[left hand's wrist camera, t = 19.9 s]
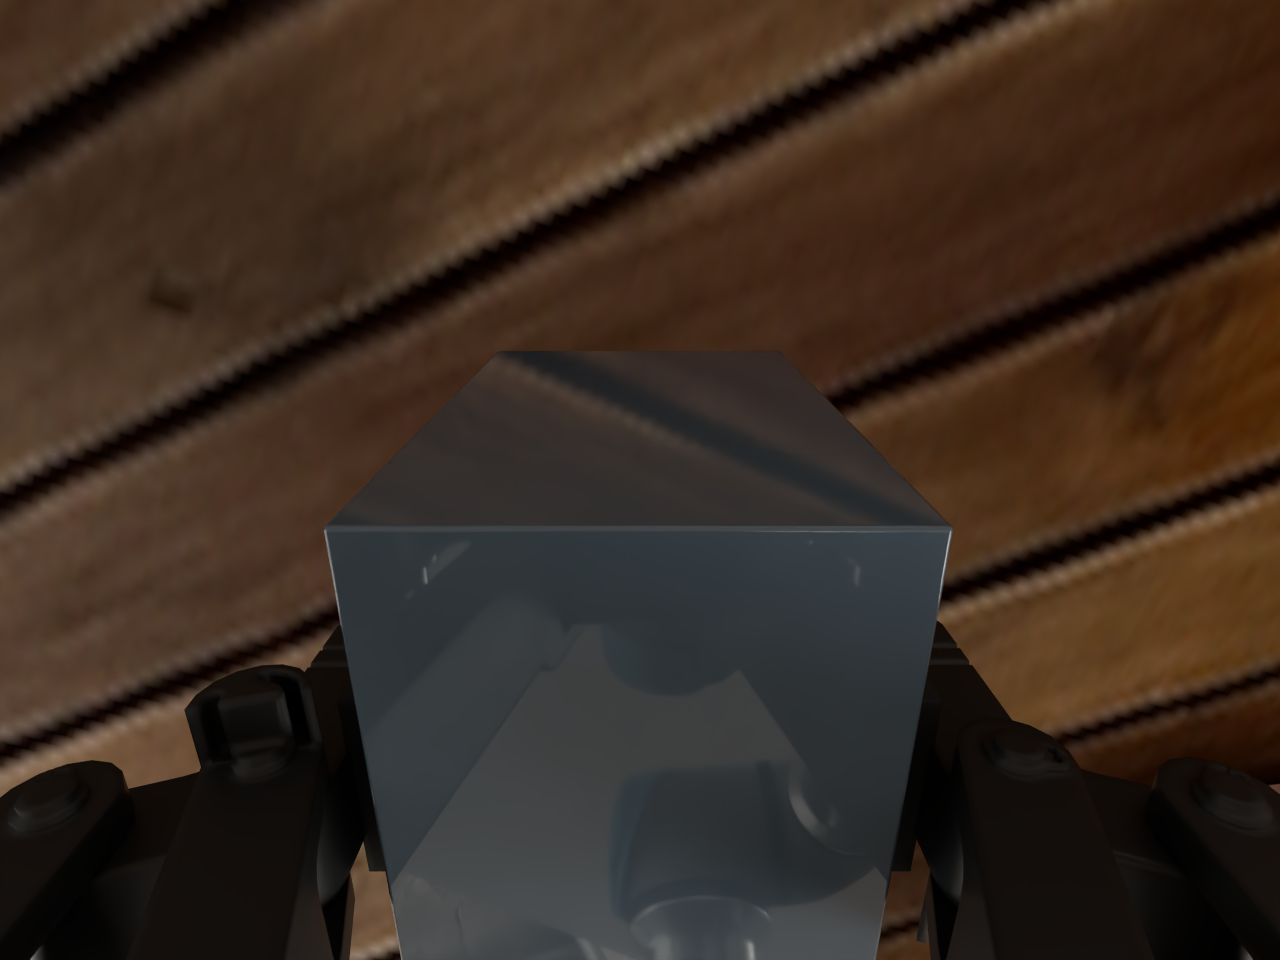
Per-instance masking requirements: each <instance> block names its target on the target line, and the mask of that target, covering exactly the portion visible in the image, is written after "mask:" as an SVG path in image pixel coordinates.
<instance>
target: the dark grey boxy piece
mask: <svg viewBox="0 0 1280 960" xmlns="http://www.w3.org/2000/svg"><path fill="white" fill-rule="evenodd" d="M952 533H953V529H952V526H951V525H950V524H949V523H948V522H947V521H946V520H945V519H944V518H943V517H942V516H941V515H940V514H939V513H938V512H937V511H936V510H935V509H934V508H933V507H932V506H931V505H930V504H929V503H928V502H927V501H926V500H925V499H924V497H923V496H922V495H921V494H920V493H919V492H918V491H917V490H916V489H915V488H914V487H913V486H912V485H911V484H910V483H909V482H908V481H907V480H906V479H905V478H904V477H903V476H902V475H901V474H900V473H899V472H898V471H897V470H896V469H895V468H894V467H893V466H892V465H891V464H890V463H889V462H888V461H887V460H886V459H885V458H884V457H883V456H882V455H881V454H880V453H879V452H878V451H877V450H876V449H875V448H874V447H873V446H872V445H871V443H870V442H869V441H868V440H867V439H866V438H865V437H864V436H863V435H862V434H861V433H860V432H859V431H858V430H857V429H856V428H855V427H854V426H853V425H852V424H851V423H850V422H849V421H848V420H847V419H846V418H845V417H844V416H843V415H842V414H841V413H840V412H839V411H838V410H837V409H836V408H835V407H834V406H833V405H832V404H831V403H830V402H829V401H828V400H827V399H826V398H825V397H824V396H823V395H822V394H821V393H820V392H819V390H818V389H817V388H816V387H815V386H814V385H813V384H812V383H811V382H810V381H809V380H808V379H807V378H806V377H805V376H804V375H803V374H802V373H801V372H800V371H799V370H798V369H797V368H796V367H795V366H794V365H793V364H792V363H791V362H790V361H789V360H788V359H787V358H786V357H785V356H784V355H783V354H782V353H781V352H780V351H499V352H497V353H496V354H495V355H494V356H493V357H492V358H491V359H490V360H489V361H488V362H487V363H486V364H485V365H484V366H483V367H482V368H481V369H480V370H479V371H478V372H477V373H476V374H475V375H474V376H473V377H472V378H471V379H470V380H469V381H468V382H467V383H466V384H465V385H464V386H463V387H462V388H461V389H460V390H459V391H458V392H457V393H456V394H455V395H454V396H453V398H452V399H451V400H450V401H449V402H448V403H447V404H446V405H445V406H444V407H443V408H442V409H441V410H440V411H439V412H438V413H437V414H436V415H435V416H434V417H433V418H432V419H431V420H430V421H429V422H428V423H427V424H426V425H425V426H424V427H423V428H422V429H421V430H420V431H419V432H418V433H417V434H416V435H415V436H414V437H413V438H412V439H411V440H410V441H409V442H408V443H407V444H406V445H405V446H404V447H403V448H402V449H401V450H400V451H399V452H398V453H397V454H396V455H395V456H394V457H393V458H392V459H391V460H390V461H389V462H388V463H387V464H386V465H385V466H384V467H383V468H382V469H381V470H380V471H379V472H378V473H377V474H376V475H375V476H374V477H373V478H372V479H371V480H370V481H369V482H368V483H367V484H366V485H365V486H364V487H363V488H362V489H361V490H360V491H359V492H358V493H357V494H356V495H355V496H354V497H353V498H352V499H351V500H350V501H349V502H348V503H347V504H346V505H345V506H344V507H343V508H342V509H341V510H340V511H339V512H338V513H337V514H336V515H335V516H334V517H333V518H332V519H331V520H330V521H329V522H328V523H327V524H326V525H325V528H324V534H325V540H326V546H327V551H328V557H329V562H330V568H331V573H332V579H333V584H334V590H335V595H336V601H337V606H338V612H339V617H340V623H341V628H342V634H343V639H344V645H345V650H346V656H347V661H348V667H349V672H350V678H351V684H352V689H353V695H354V700H355V706H356V711H357V717H358V722H359V728H360V733H361V739H362V744H363V750H364V755H365V761H366V766H367V772H368V777H369V783H370V788H371V794H372V799H373V805H374V811H375V816H376V822H377V827H378V833H379V838H380V844H381V849H382V855H383V860H384V866H385V871H386V877H387V882H388V888H389V893H390V899H391V904H392V910H393V915H394V921H395V926H396V932H397V937H398V943H399V949H400V954H401V960H876V955H877V949H878V944H879V938H880V932H881V927H882V921H883V916H884V910H885V905H886V899H887V894H888V888H889V883H890V877H891V871H892V866H893V860H894V855H895V849H896V844H897V838H898V833H899V827H900V821H901V816H902V810H903V805H904V799H905V794H906V788H907V783H908V777H909V772H910V766H911V760H912V755H913V749H914V744H915V738H916V733H917V727H918V722H919V716H920V710H921V705H922V699H923V694H924V688H925V683H926V677H927V672H928V666H929V661H930V655H931V649H932V644H933V638H934V633H935V627H936V622H937V616H938V611H939V605H940V599H941V594H942V588H943V583H944V577H945V572H946V566H947V561H948V555H949V550H950V544H951V538H952Z"/></svg>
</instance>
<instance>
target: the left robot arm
mask: <svg viewBox="0 0 1280 960" xmlns="http://www.w3.org/2000/svg"><path fill="white" fill-rule="evenodd" d="M185 714H186V717H187V720H188V724H189V727H190V731H191V734H192V738H193V741H194V744H195V748H196V751H197V755H198V758H199V762H200V765H201V769H200V771H199V772H197V773H193V774H190V775H187V776H183V777H179V778H175V779H170V780H166V781H161V782H157V783H152V784H148V785H144V786H139V787H135V788H130V789H128V787H127V784H126V781H125V778H124V775H123V772H122V771H121V770H120V769H119V768H118V767H116V766H115V765H114V764H112V763H110V762H102V761H94V760H91V761H84V762H78V763H72V764H66V765H63V766H61V767H57V768H55V769H52V770H48V771H46V772H43V773H40V774H38V775H36V776H34V777H33V778H31V779H29V780H27V781H25V782H23V783H21V784H20V785H18V786H16V787H14V788H12V789H11V790H9V791H8V792H7V793H6V794H4V795H3V796H2V797H0V960H349V957H350V946H351V935H352V925H353V914H354V903H355V896H354V890H353V884H352V879H351V874H350V870H351V868H352V866H353V863H354V861H355V859H356V857H357V854H358V852H359V850H360V847H361V845H362V843H363V841H364V846H365V851H366V857H367V862H368V867H369V871H385V866H384V860H383V855H382V849H381V844H380V838H379V833H378V827H377V822H376V816H375V811H374V805H373V799H372V794H371V788H370V783H369V777H368V772H367V766H366V761H365V755H364V750H363V744H362V739H361V733H360V728H359V722H358V717H357V711H356V706H355V700H354V695H353V689H352V684H351V678H350V672H349V667H348V661H347V656H346V650H345V645H344V639H343V634H342V628H341V624H340V625H339V626H338V627H337V628H336V629H335V631H334V632H333V634H332V635H331V636H330V638H329V639H328V640H327V642H326V643H325V645H324V646H323V651H319V653H318V654H317V656H316V657H315V658H314V660H313V661H312V663H311V667H310V668H307V669H306V671H305V672H304V671H302V670H301V669H300V668H296V667H292V666H287V665H283V664H281V665H262V666H257V667H253V668H249V669H245V670H241V671H237V672H235V673H233V674H231V675H228V676H226V677H224V678H222V679H220V680H217V681H215V682H213V683H212V684H211V685H209V686H208V687H207V688H205V689H204V690H202V691H201V692H200V693H198V694H197V695H196V696H195V697H194V698H193V699H192V701H191V702H190V703H189V705H188V706H187V707H186V709H185ZM916 839H917V841H918V843H919V845H920V847H921V850H922V852H923V854H924V856H925V859H926V861H927V863H928V866H929V868H930V874H929V879H928V884H927V888H926V893H925V898H924V903H923V908H922V913H921V917H920V922H919V928H918V934H917V940H916V941H920V942H924V943H926V939H927V935H928V933H929V944H930V955H931V960H1280V794H1279V793H1278V792H1277V791H1275V790H1274V789H1273V788H1271V787H1270V786H1269V785H1267V784H1265V783H1263V782H1261V781H1259V780H1258V779H1256V778H1254V777H1252V776H1250V775H1248V774H1246V773H1244V772H1243V771H1240V770H1238V769H1235V768H1232V767H1230V766H1226V765H1224V764H1220V763H1217V762H1214V761H1209V760H1203V759H1196V758H1190V757H1186V758H1178V759H1170V760H1168V761H1167V762H1165V763H1164V764H1163V765H1162V766H1160V767H1159V768H1158V770H1157V773H1156V776H1155V779H1154V782H1153V785H1152V786H1149V785H1145V784H1141V783H1136V782H1132V781H1127V780H1123V779H1118V778H1114V777H1109V776H1105V775H1101V774H1096V773H1093V772H1090V771H1086V770H1083V769H1080V768H1079V766H1078V764H1077V763H1076V761H1075V760H1074V758H1073V757H1072V755H1071V754H1070V752H1069V751H1068V750H1067V749H1066V748H1065V747H1063V746H1062V745H1061V744H1060V743H1059V742H1057V741H1056V740H1055V739H1054V738H1052V737H1051V736H1050V735H1048V734H1046V733H1044V732H1042V731H1040V730H1038V729H1036V728H1034V727H1032V726H1030V725H1027V724H1023V723H1020V722H1016V721H1013V720H1012V719H1011V718H1010V717H1009V715H1008V714H1007V712H1006V711H1005V710H1004V708H1003V707H1002V706H1001V704H1000V703H999V701H998V700H997V699H996V697H995V696H994V695H993V693H992V692H991V690H990V689H989V688H988V686H987V685H986V684H985V682H984V681H983V679H982V678H981V677H980V675H979V674H978V673H977V671H976V670H975V668H974V667H973V666H972V665H969V660H968V659H967V657H966V656H965V655H964V653H963V652H962V651H961V649H960V648H957V644H956V642H955V641H954V640H953V638H952V637H951V635H950V634H949V633H948V631H947V630H946V629H945V627H944V626H943V624H941V623H940V622H938V621H937V622H936V627H935V633H934V638H933V644H932V649H931V655H930V661H929V666H928V672H927V677H926V683H925V688H924V694H923V699H922V705H921V710H920V716H919V722H918V727H917V733H916V738H915V744H914V749H913V755H912V760H911V766H910V772H909V777H908V783H907V788H906V794H905V799H904V805H903V810H902V816H901V821H900V827H899V833H898V838H897V844H896V849H895V855H894V860H893V866H892V871H910V870H911V864H912V859H913V854H914V849H915V844H916Z"/></svg>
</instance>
